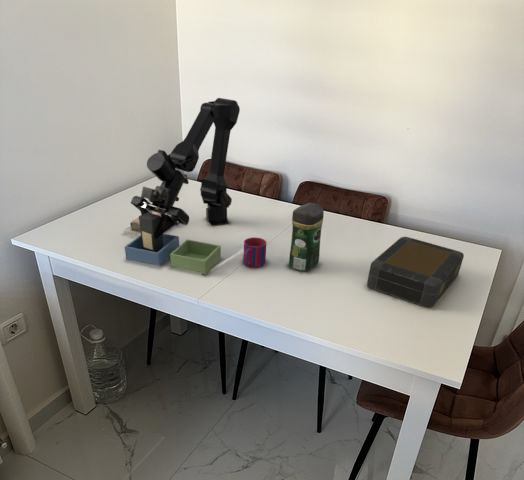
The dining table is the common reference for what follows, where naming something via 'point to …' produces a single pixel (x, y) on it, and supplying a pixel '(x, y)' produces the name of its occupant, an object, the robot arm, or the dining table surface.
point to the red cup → (254, 252)
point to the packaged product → (136, 226)
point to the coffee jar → (306, 236)
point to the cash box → (415, 271)
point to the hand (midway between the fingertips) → (148, 235)
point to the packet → (150, 232)
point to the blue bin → (149, 257)
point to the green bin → (195, 256)
